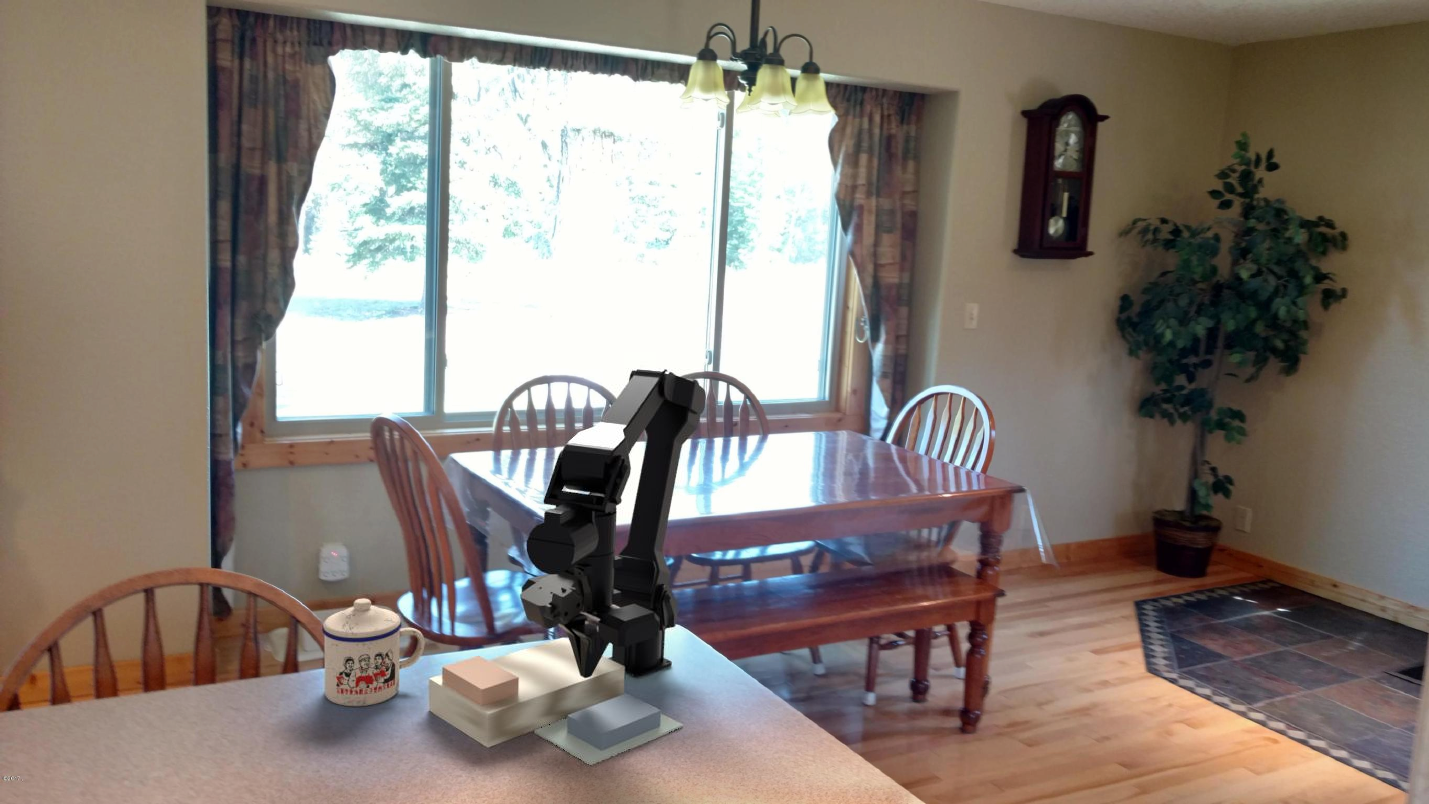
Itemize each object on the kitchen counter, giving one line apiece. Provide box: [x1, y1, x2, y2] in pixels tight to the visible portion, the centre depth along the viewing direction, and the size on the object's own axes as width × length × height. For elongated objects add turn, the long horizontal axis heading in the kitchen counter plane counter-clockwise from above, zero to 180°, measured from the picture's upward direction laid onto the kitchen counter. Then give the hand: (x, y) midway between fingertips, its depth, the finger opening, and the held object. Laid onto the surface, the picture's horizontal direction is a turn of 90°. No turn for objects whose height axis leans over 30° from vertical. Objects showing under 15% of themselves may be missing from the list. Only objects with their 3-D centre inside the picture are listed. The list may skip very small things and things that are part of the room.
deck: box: [428, 637, 625, 748], centre depth 130 cm, size 20×12×4 cm, turn 136°
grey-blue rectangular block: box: [567, 692, 662, 751], centre depth 124 cm, size 9×6×2 cm, turn 137°
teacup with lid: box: [321, 598, 425, 707], centre depth 131 cm, size 12×9×12 cm
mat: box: [534, 713, 684, 766], centre depth 124 cm, size 14×10×1 cm
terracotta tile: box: [441, 655, 519, 706], centre depth 124 cm, size 5×8×2 cm, turn 46°
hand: (585, 676), depth 127 cm, fingers closed
